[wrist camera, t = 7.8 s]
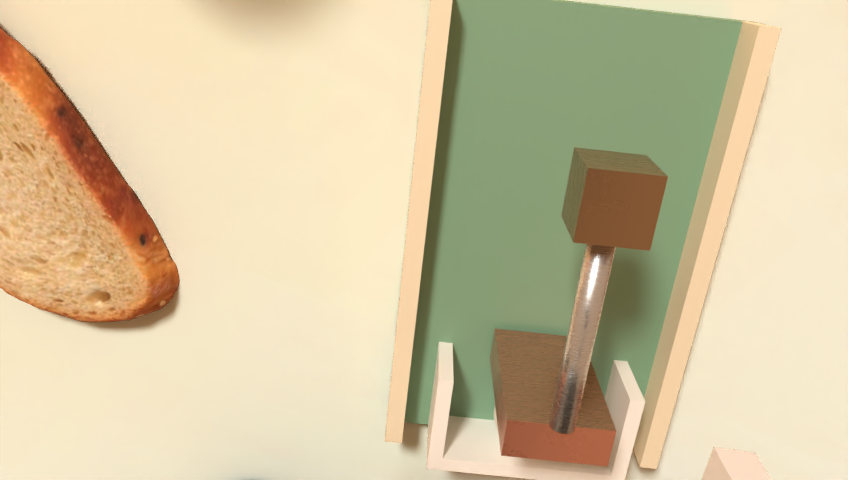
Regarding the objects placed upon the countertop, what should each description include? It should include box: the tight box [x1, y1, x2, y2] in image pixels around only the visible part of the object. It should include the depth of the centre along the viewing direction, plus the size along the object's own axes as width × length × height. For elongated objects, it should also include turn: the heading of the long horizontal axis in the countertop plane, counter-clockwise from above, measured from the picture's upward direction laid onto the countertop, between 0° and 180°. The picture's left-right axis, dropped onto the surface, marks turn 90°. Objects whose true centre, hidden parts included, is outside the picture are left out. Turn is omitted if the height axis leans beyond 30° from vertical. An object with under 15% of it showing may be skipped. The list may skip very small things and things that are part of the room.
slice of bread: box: [0, 27, 179, 322], centre depth 38 cm, size 18×18×4 cm
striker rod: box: [490, 147, 668, 466], centre depth 34 cm, size 14×5×10 cm, turn 174°
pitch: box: [385, 0, 781, 480], centre depth 38 cm, size 25×16×5 cm, turn 174°
